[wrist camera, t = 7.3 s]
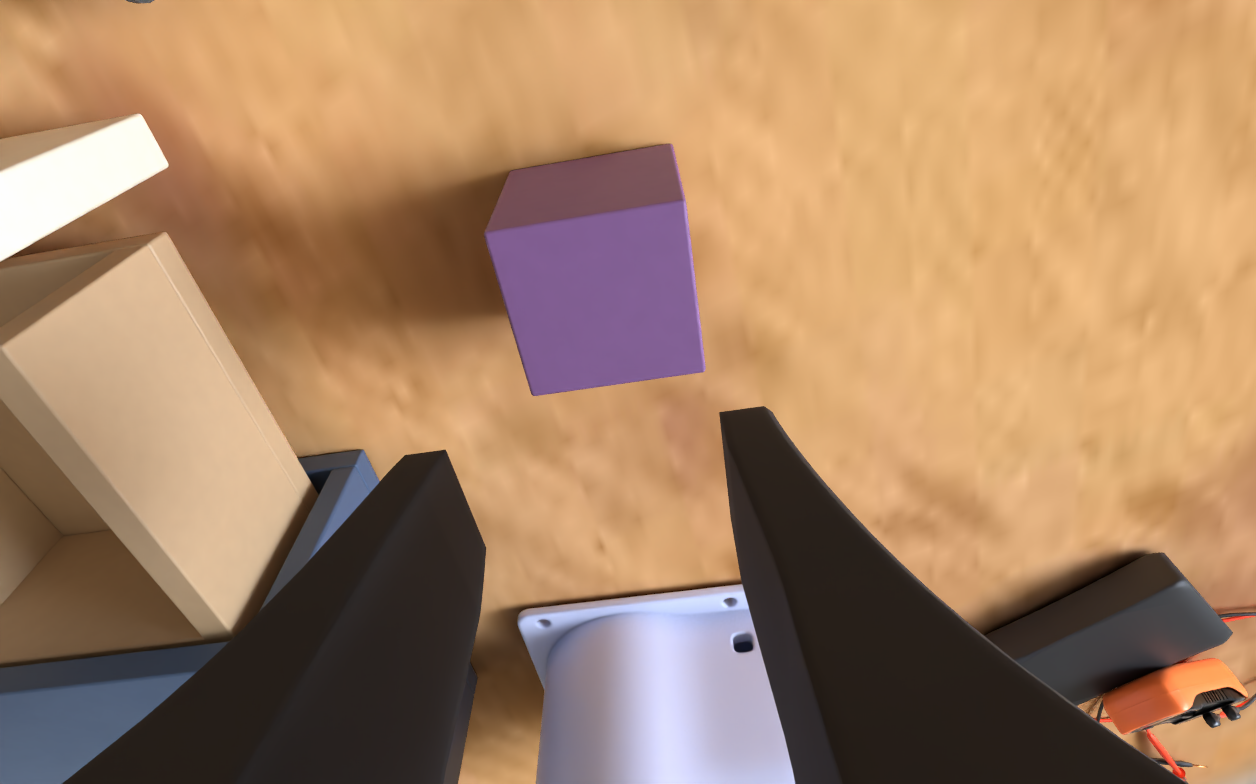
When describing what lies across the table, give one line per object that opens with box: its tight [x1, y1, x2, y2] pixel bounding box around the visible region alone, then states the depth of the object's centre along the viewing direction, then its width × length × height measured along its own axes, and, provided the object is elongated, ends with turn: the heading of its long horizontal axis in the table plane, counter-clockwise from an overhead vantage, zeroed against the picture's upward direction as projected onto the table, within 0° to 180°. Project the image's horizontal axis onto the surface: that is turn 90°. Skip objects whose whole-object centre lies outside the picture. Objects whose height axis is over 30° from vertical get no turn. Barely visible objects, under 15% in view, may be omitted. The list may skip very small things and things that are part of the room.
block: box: [484, 144, 706, 396], centre depth 16 cm, size 4×4×4 cm
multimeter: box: [985, 553, 1256, 783], centre depth 27 cm, size 18×12×3 cm, turn 41°
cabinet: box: [0, 450, 477, 784], centre depth 22 cm, size 13×11×8 cm
